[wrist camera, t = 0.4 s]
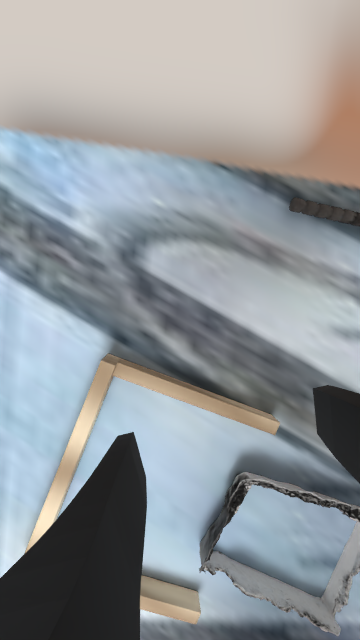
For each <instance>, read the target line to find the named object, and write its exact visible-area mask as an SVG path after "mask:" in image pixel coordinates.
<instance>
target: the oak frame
mask: <svg viewBox="0 0 360 640" xmlns="http://www.w3.org/2000/svg"><path fill="white" fill-rule="evenodd" d="M113 376H115V377H118V378H121V379H123V380H126V381H129V382H132V383H134V384H137V385H140V386H142V387H145V388H148V389H151V390H153V391H156V392H159V393H162V394H164V395H167V396H170V397H172V398H175V399H178V400H181V401H183V402H186V403H189V404H191V405H194V406H197V407H200V408H202V409H205V410H208V411H211V412H213V413H216V414H219V415H221V416H224V417H227V418H230V419H232V420H235V421H238V422H240V423H243V424H246V425H249V426H251V427H254V428H257V429H260V430H262V431H265V432H268V433H270V434H273V435H275V434H276V432H277V429H278V427H279V424H280V423H279V422H278V421H277V420H276V419H275V418H274V417H273V416H272V415H271V414H268V413H265V412H263V411H260V410H258V409H255V408H252V407H250V406H247V405H244V404H242V403H239V402H236V401H234V400H231V399H228V398H226V397H223V396H220V395H218V394H215V393H212V392H210V391H207V390H204V389H202V388H199V387H196V386H194V385H191V384H188V383H186V382H183V381H180V380H178V379H175V378H172V377H170V376H167V375H164V374H162V373H159V372H156V371H154V370H151V369H148V368H146V367H143V366H140V365H138V364H135V363H132V362H130V361H127V360H124V359H122V358H119V357H116V356H114V355H111V354H107V355H106V356H105V357H104V358H103V359H102V360H101V362H100V364H99V367H98V369H97V372H96V375H95V377H94V380H93V382H92V385H91V387H90V390H89V392H88V395H87V397H86V400H85V402H84V405H83V407H82V410H81V412H80V415H79V417H78V420H77V422H76V425H75V428H74V430H73V433H72V435H71V438H70V440H69V443H68V445H67V448H66V450H65V453H64V455H63V458H62V460H61V463H60V465H59V468H58V470H57V473H56V475H55V478H54V481H53V483H52V486H51V488H50V491H49V493H48V496H47V498H46V501H45V503H44V506H43V508H42V511H41V513H40V516H39V518H38V521H37V523H36V526H35V528H34V531H33V533H32V536H31V539H30V541H29V544H28V546H27V549H26V551H25V553H26V552H27V551H28V550H29V549H30V548H31V547H32V546H33V545H34V544H35V543H36V542H37V541H38V540H39V539H40V538H41V536H42V535H43V534H44V533H45V532H46V531H47V530H48V529H49V528H50V526H51V525H52V524H53V523H54V522H55V521H56V519H57V517H58V514H59V512H60V509H61V507H62V504H63V502H64V499H65V497H66V494H67V492H68V489H69V487H70V484H71V482H72V479H73V477H74V474H75V472H76V469H77V467H78V464H79V462H80V459H81V457H82V454H83V452H84V449H85V447H86V444H87V442H88V439H89V437H90V434H91V432H92V429H93V426H94V424H95V421H96V419H97V416H98V414H99V411H100V409H101V406H102V404H103V401H104V399H105V396H106V394H107V391H108V389H109V386H110V384H111V381H112V379H113ZM140 609H142V610H146V611H149V612H153V613H156V614H160V615H164V616H167V617H171V618H174V619H178V620H181V621H185V622H189V623H192V624H196V623H197V621H198V619H199V616H200V614H201V610H200V603H199V596H198V591H194V590H191V589H187V588H184V587H181V586H177V585H174V584H170V583H167V582H163V581H160V580H157V579H153V578H150V577H146V576H143V575H141V591H140Z"/></svg>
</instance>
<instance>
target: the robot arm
mask: <svg viewBox="0 0 360 640" xmlns="http://www.w3.org/2000/svg"><path fill="white" fill-rule="evenodd" d="M313 395H314V405H315V415H316V425H317V434H318V435H319V437H320V438H321V439H322V441H323V442H324V443H325V445H326V446H327V448H328V449H329V450H330V451H331V453H332V454H333V455H334V457H335V458H336V459H337V460H338V461H339V462H340V463H341V464H342V465H343V466H344V467H345V469H346V470H347V471H348V472H349V473H350V474H351V475H352V476H353V477H354V478H355V479H356V480H357V481H358V482H359V483H360V394H359V393H355V392H352V391H349V390H345V389H342V388H338V387H334V386H329V385H326V386H322V387H318V388H313ZM146 510H147V493H146V475H145V472H144V468H143V464H142V461H141V457H140V453H139V450H138V446H137V442H136V439H135V435H134V432H132V433H128V434H123V435H119V436H117V438H116V439H115V441H114V442H113V444H112V445H111V447H110V448H109V450H108V451H107V453H106V454H105V456H104V457H103V459H102V460H101V462H100V463H99V465H98V466H97V468H96V469H95V470H94V472H93V473H92V475H91V476H90V478H89V479H88V480H87V482H86V483H85V484H84V486H83V487H82V488H81V490H80V491H79V492H78V494H77V495H76V496H75V498H74V499H73V500H72V502H71V503H70V504H69V505H68V507H67V508H66V509H65V510H64V511H63V513H62V514H61V515H60V516H59V517H58V519H57V520H56V521H55V522H54V523H53V524H52V525H51V526H50V528H49V529H48V530H47V531H46V532H45V533H44V534H43V535H42V536H41V538H40V539H39V540H38V541H37V542H36V543H35V544H34V545H33V546H32V547H31V548H30V549H29V550H28V551H27V552H26V553H25V554H24V555H23V556H22V557H21V558H20V559H19V560H18V561H17V562H16V563H15V564H14V565H13V566H12V567H11V568H10V569H9V570H8V571H7V572H6V573H5V574H4V575H3V576H2V577H1V578H0V640H140V591H141V575H142V562H143V549H144V537H145V524H146Z"/></svg>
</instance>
